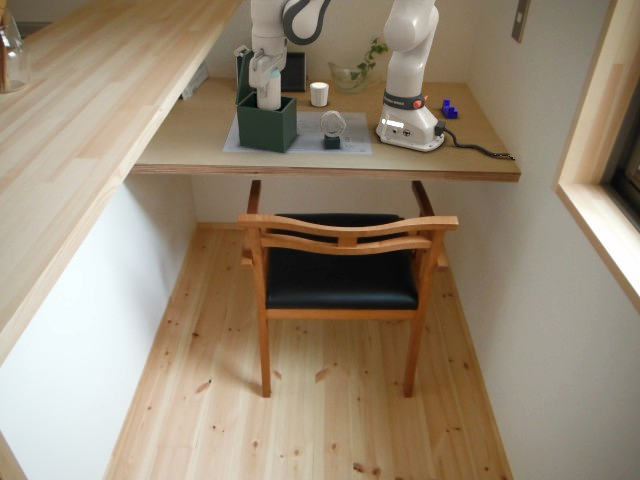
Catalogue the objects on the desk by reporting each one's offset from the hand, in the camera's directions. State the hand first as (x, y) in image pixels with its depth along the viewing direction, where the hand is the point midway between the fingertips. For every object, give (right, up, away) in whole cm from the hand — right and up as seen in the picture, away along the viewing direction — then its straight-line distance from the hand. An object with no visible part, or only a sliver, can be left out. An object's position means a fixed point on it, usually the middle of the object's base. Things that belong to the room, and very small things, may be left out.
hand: (268, 92), depth 138 cm
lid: (-5, +5, -2) cm, 7 cm away
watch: (+19, -14, +9) cm, 25 cm away
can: (0, -4, +3) cm, 5 cm away
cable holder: (+63, +2, +30) cm, 69 cm away
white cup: (+15, +7, +34) cm, 38 cm away
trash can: (-1, -12, +10) cm, 16 cm away
